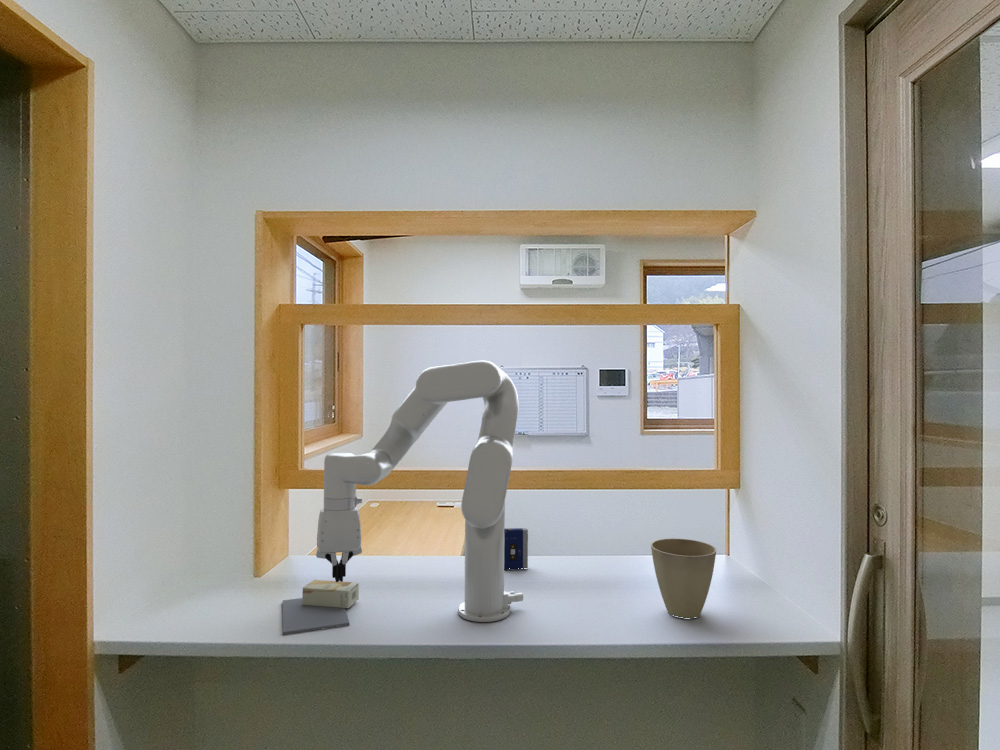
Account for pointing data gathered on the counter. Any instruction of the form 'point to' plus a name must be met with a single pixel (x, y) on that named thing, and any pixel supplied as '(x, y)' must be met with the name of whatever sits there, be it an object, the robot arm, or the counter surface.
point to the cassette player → (515, 548)
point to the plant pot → (683, 574)
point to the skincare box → (330, 593)
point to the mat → (310, 617)
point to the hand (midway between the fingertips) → (338, 580)
